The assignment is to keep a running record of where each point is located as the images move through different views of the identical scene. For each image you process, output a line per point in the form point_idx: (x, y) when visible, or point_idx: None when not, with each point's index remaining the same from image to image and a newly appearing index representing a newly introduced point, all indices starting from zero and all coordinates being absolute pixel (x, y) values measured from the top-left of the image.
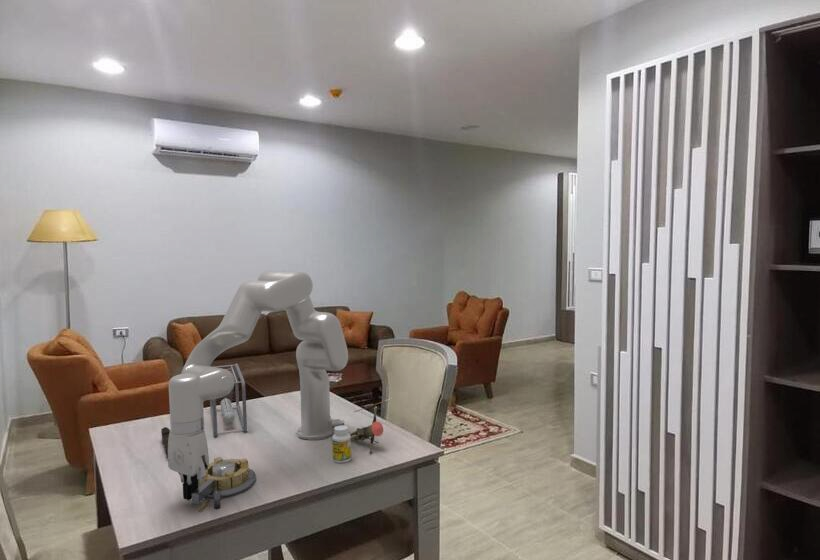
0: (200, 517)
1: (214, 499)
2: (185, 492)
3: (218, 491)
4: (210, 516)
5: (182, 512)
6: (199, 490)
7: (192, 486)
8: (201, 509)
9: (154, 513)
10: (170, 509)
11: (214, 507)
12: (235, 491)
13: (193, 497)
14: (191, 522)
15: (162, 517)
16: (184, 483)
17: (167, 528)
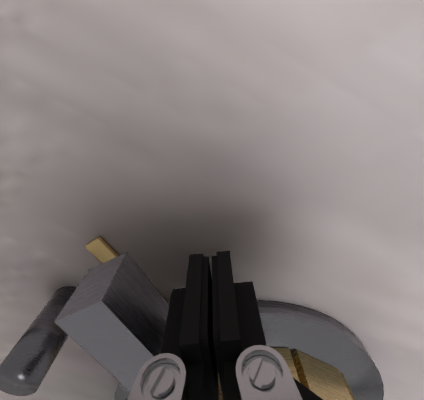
0: (32, 215)
1: (31, 331)
2: (213, 285)
3: (14, 389)
4: (9, 246)
5: (157, 186)
6: (104, 344)
7: (162, 351)
8: (99, 253)
9: (290, 75)
10: (246, 164)
11: (61, 293)
12: (115, 393)
13: (100, 282)
14: (6, 160)
15: (196, 81)
16: (229, 348)
17: (25, 23)
